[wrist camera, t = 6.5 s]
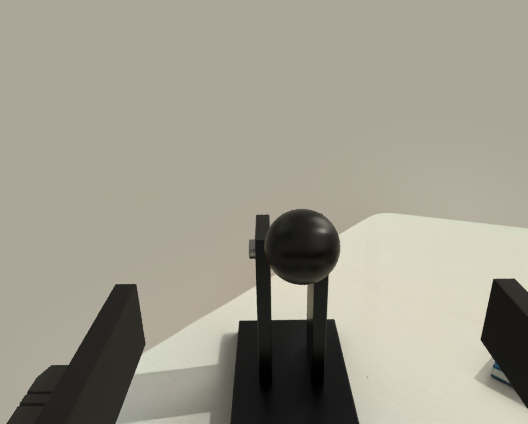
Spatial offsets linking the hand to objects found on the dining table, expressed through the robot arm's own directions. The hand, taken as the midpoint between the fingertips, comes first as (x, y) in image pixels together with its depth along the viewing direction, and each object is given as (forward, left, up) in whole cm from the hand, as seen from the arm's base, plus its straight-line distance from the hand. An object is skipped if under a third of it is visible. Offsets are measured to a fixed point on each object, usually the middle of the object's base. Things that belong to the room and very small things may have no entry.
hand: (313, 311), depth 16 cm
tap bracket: (+9, +12, -17) cm, 23 cm away
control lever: (+5, +7, -4) cm, 10 cm away
